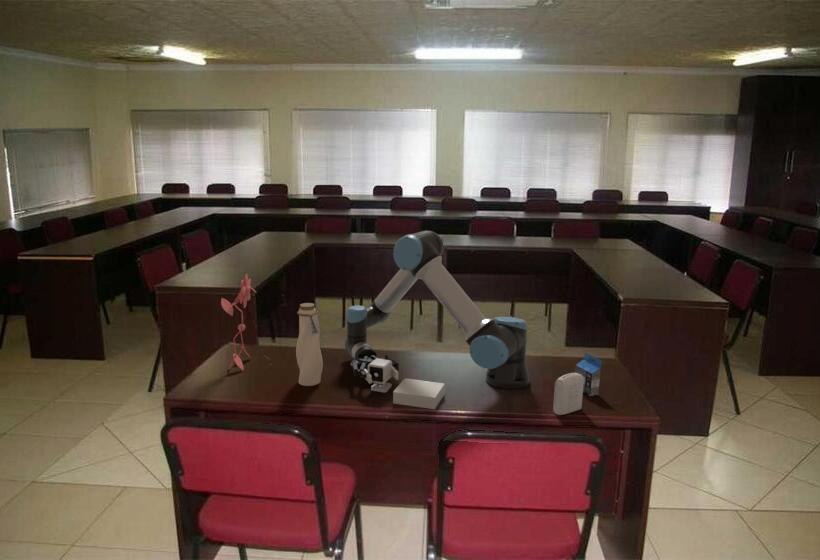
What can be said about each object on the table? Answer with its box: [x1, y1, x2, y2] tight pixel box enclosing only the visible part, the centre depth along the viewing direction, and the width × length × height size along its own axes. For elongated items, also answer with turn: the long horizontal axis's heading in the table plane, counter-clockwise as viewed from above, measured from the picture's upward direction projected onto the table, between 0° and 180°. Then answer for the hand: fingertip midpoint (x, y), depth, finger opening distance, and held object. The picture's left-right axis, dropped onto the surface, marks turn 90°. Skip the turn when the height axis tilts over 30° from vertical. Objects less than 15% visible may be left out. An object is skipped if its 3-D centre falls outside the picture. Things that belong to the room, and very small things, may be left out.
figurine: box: [220, 272, 272, 376], centre depth 226 cm, size 15×26×35 cm, turn 178°
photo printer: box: [552, 372, 584, 416], centre depth 193 cm, size 10×4×12 cm, turn 123°
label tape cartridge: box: [574, 352, 603, 397], centre depth 208 cm, size 9×4×12 cm, turn 23°
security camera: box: [367, 358, 393, 394], centre depth 208 cm, size 6×7×10 cm
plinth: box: [392, 378, 446, 410], centre depth 202 cm, size 14×12×4 cm
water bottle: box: [295, 302, 324, 387], centre depth 212 cm, size 10×9×28 cm
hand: (384, 377), depth 204 cm, fingers closed on security camera, 9 cm apart
